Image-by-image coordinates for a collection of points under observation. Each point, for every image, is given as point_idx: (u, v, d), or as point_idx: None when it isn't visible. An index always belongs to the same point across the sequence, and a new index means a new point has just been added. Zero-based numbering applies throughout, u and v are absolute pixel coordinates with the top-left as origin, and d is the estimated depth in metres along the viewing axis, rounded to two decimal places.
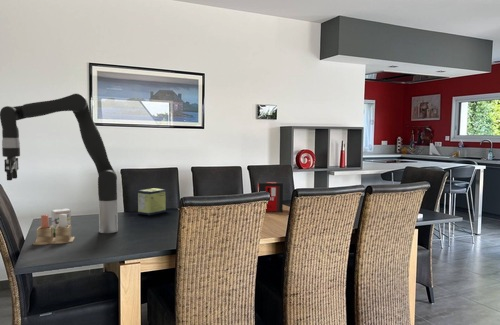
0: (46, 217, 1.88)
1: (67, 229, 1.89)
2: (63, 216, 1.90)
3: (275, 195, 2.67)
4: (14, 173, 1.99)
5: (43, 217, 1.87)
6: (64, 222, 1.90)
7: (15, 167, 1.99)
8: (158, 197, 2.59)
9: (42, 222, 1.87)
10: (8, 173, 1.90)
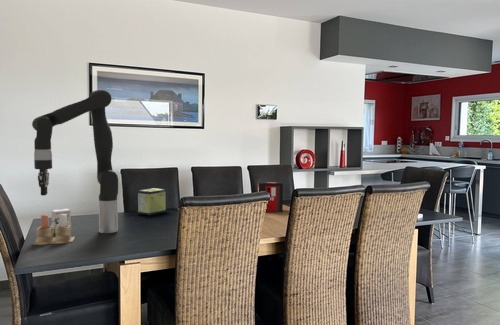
0: (46, 217, 1.88)
1: (67, 229, 1.89)
2: (63, 216, 1.90)
3: (275, 195, 2.67)
4: None
5: (43, 217, 1.87)
6: (64, 222, 1.90)
7: None
8: (158, 197, 2.59)
9: (42, 222, 1.87)
10: (42, 188, 1.85)
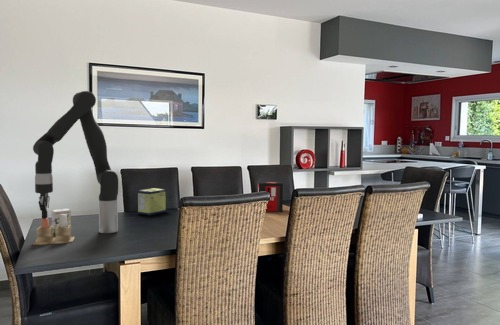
0: (46, 220, 1.88)
1: (67, 229, 1.89)
2: (63, 216, 1.90)
3: (275, 195, 2.67)
4: None
5: (43, 220, 1.87)
6: (64, 222, 1.90)
7: None
8: (158, 197, 2.59)
9: (42, 225, 1.87)
10: (43, 211, 1.87)
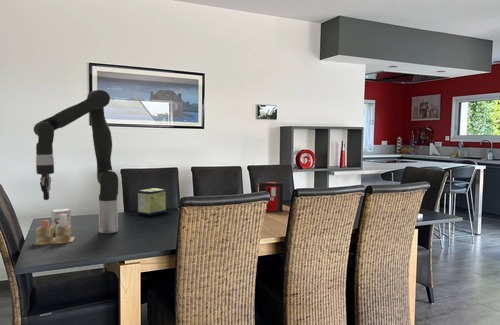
0: (46, 222, 1.88)
1: (67, 229, 1.89)
2: (63, 216, 1.90)
3: (275, 195, 2.67)
4: None
5: (43, 222, 1.87)
6: (64, 222, 1.90)
7: None
8: (158, 197, 2.59)
9: (42, 227, 1.87)
10: (45, 193, 1.87)
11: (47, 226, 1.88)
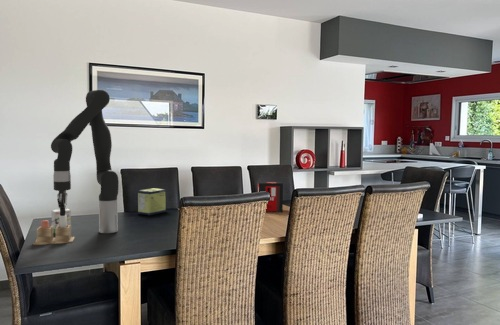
0: (46, 222, 1.88)
1: (67, 229, 1.89)
2: (63, 217, 1.90)
3: (275, 195, 2.67)
4: None
5: (43, 222, 1.87)
6: (64, 223, 1.90)
7: None
8: (158, 197, 2.59)
9: (42, 227, 1.87)
10: (61, 208, 1.89)
11: (47, 226, 1.88)
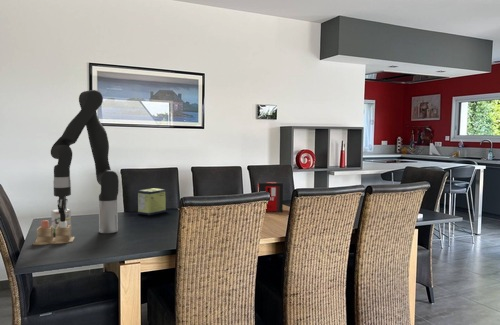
0: (46, 222, 1.88)
1: (67, 229, 1.89)
2: (63, 223, 1.90)
3: (275, 195, 2.67)
4: None
5: (43, 222, 1.87)
6: None
7: None
8: (158, 197, 2.59)
9: (42, 227, 1.87)
10: (62, 214, 1.89)
11: (47, 226, 1.88)
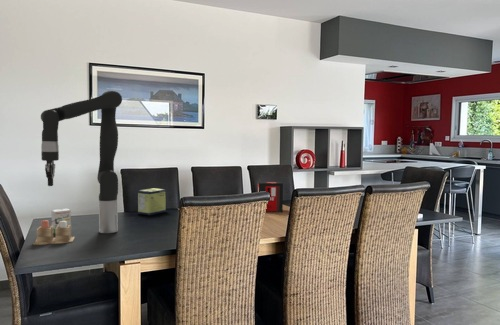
0: (46, 222, 1.88)
1: (67, 229, 1.89)
2: (63, 223, 1.90)
3: (275, 195, 2.67)
4: None
5: (43, 222, 1.87)
6: None
7: None
8: (158, 197, 2.59)
9: (42, 227, 1.87)
10: (49, 179, 1.91)
11: (47, 226, 1.88)
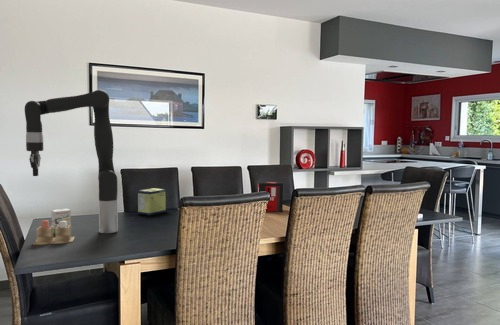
0: (46, 222, 1.88)
1: (67, 229, 1.89)
2: (63, 223, 1.90)
3: (275, 195, 2.67)
4: None
5: (43, 222, 1.87)
6: None
7: None
8: (158, 197, 2.59)
9: (42, 227, 1.87)
10: (34, 169, 1.95)
11: (47, 226, 1.88)
